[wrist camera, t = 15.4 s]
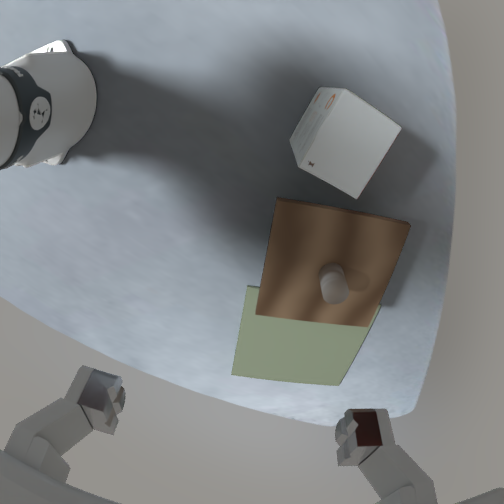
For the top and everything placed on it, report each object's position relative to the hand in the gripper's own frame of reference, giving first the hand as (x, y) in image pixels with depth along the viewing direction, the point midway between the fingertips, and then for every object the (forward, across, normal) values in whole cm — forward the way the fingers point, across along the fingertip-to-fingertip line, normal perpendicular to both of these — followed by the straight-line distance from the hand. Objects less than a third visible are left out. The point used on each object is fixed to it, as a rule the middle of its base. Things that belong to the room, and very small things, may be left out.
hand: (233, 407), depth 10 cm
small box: (+33, -7, -6) cm, 35 cm away
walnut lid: (+27, -10, +10) cm, 30 cm away
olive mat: (+33, -12, +30) cm, 46 cm away
